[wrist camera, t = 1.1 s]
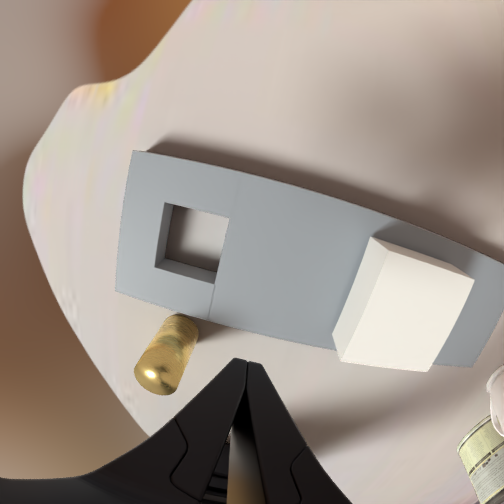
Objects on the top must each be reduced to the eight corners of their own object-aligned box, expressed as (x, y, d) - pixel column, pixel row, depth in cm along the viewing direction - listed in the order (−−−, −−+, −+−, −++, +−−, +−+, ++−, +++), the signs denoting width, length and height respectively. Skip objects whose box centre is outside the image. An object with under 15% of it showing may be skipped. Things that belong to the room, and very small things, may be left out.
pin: (195, 350, 22) (175, 400, 16) (161, 339, 22) (134, 386, 16) (201, 321, 21) (179, 370, 16) (164, 310, 21) (134, 354, 16)
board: (463, 356, 21) (472, 368, 19) (127, 281, 21) (114, 291, 19) (506, 265, 18) (519, 272, 16) (145, 151, 18) (132, 150, 16)
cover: (412, 348, 18) (427, 371, 15) (331, 334, 18) (340, 361, 15) (451, 264, 16) (475, 279, 13) (370, 236, 16) (388, 250, 13)
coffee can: (515, 400, 23) (552, 456, 10) (491, 439, 26) (518, 491, 13) (470, 423, 24) (506, 492, 11) (447, 460, 27) (470, 521, 14)
